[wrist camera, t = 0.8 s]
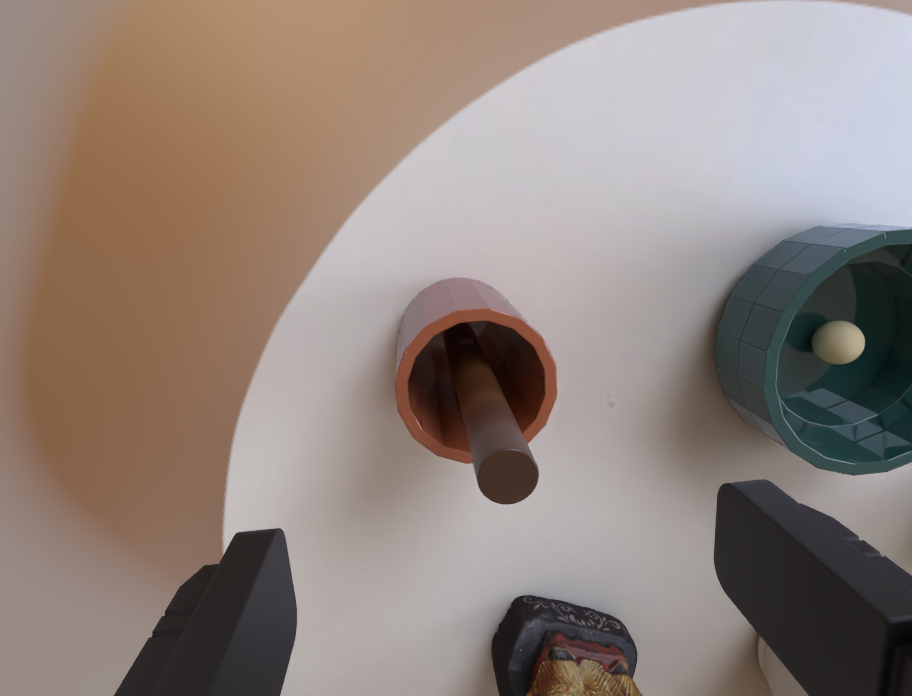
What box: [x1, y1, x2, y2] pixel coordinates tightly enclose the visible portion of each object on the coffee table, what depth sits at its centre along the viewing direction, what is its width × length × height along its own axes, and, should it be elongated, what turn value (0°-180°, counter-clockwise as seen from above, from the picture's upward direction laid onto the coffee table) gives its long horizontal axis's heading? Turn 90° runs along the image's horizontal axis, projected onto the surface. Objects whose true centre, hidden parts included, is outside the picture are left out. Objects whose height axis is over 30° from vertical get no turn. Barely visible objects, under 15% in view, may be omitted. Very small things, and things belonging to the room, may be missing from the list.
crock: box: [395, 278, 557, 463], centre depth 31 cm, size 8×8×10 cm
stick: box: [444, 323, 539, 504], centre depth 26 cm, size 3×2×18 cm
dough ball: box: [812, 321, 865, 364], centre depth 35 cm, size 3×3×3 cm
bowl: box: [715, 224, 912, 475], centre depth 35 cm, size 15×15×6 cm
